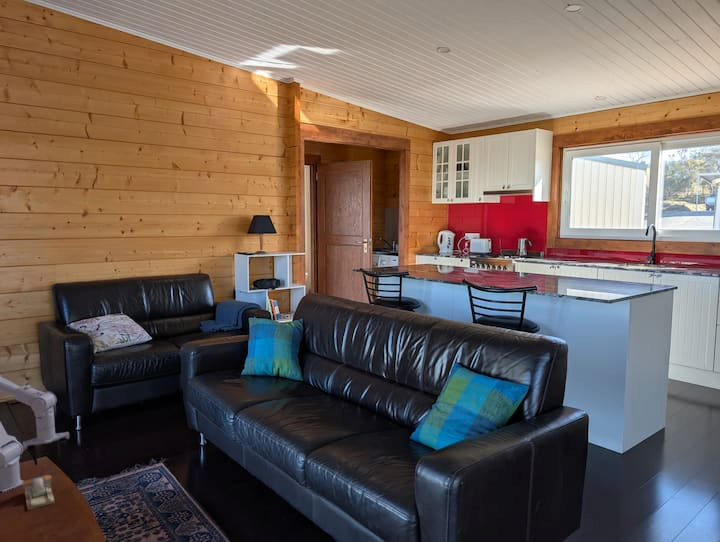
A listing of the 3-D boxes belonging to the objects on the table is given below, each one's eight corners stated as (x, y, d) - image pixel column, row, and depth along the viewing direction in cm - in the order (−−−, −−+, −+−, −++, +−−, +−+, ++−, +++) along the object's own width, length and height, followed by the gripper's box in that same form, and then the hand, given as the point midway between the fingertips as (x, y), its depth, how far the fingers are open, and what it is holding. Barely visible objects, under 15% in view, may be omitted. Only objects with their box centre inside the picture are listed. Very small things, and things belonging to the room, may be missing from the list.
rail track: (24, 492, 191) (23, 481, 191) (49, 485, 196) (49, 474, 195) (27, 510, 180) (27, 498, 180) (54, 502, 185) (53, 490, 184)
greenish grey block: (31, 493, 189) (30, 479, 188) (44, 489, 191) (43, 476, 190) (32, 497, 186) (31, 483, 185) (45, 493, 188) (44, 480, 188)
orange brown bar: (22, 486, 190) (22, 482, 190) (51, 478, 195) (50, 475, 195) (23, 489, 188) (22, 485, 188) (51, 481, 193) (51, 477, 193)
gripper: (23, 434, 185) (25, 471, 186) (69, 425, 193) (71, 459, 195) (21, 428, 190) (24, 463, 192) (66, 418, 199) (68, 452, 200)
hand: (48, 461), depth 194 cm, fingers open, 7 cm apart
